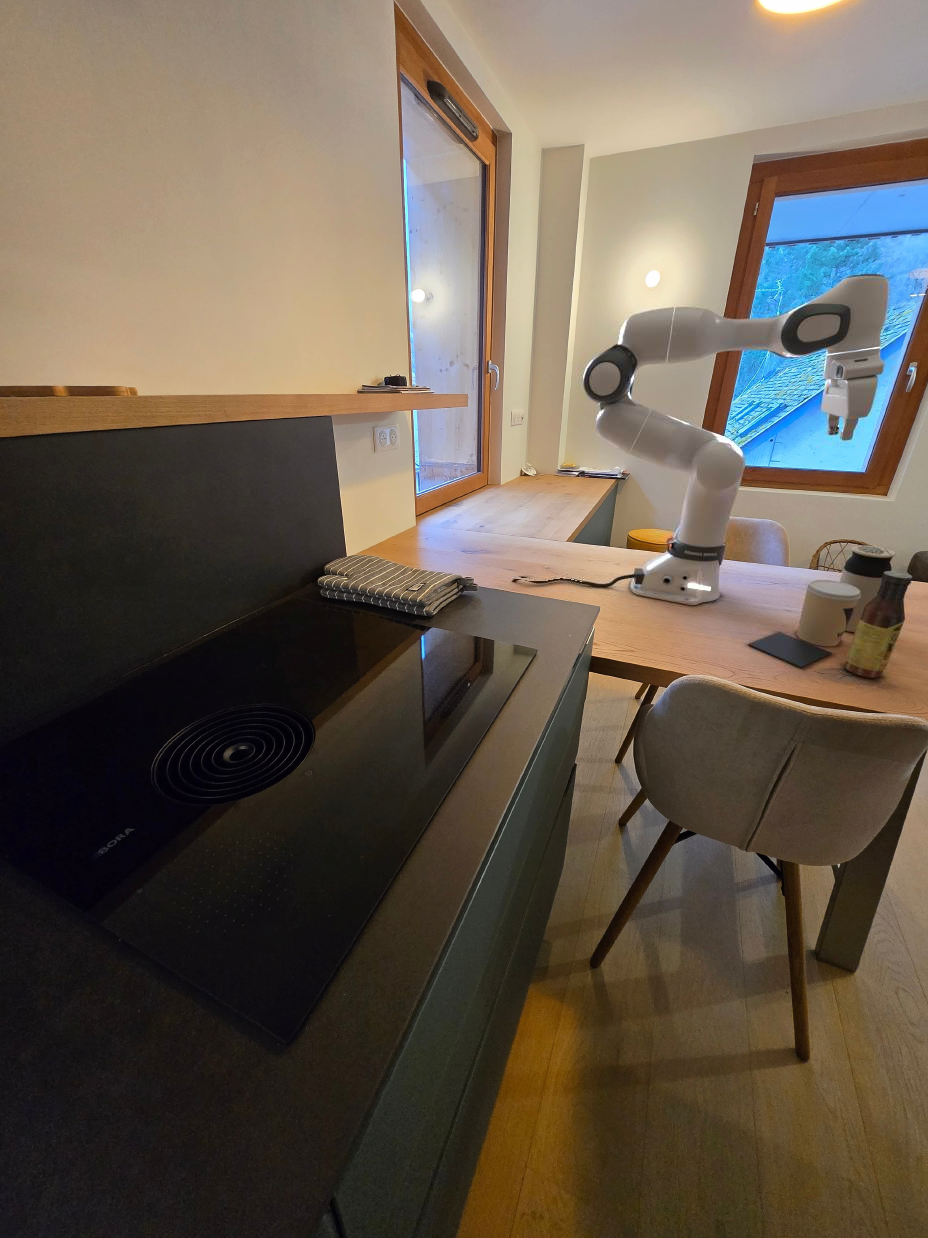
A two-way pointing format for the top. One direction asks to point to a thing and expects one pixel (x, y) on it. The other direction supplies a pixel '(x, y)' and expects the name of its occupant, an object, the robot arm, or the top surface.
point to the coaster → (790, 649)
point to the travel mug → (865, 576)
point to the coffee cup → (827, 611)
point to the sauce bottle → (879, 627)
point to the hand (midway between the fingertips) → (838, 437)
